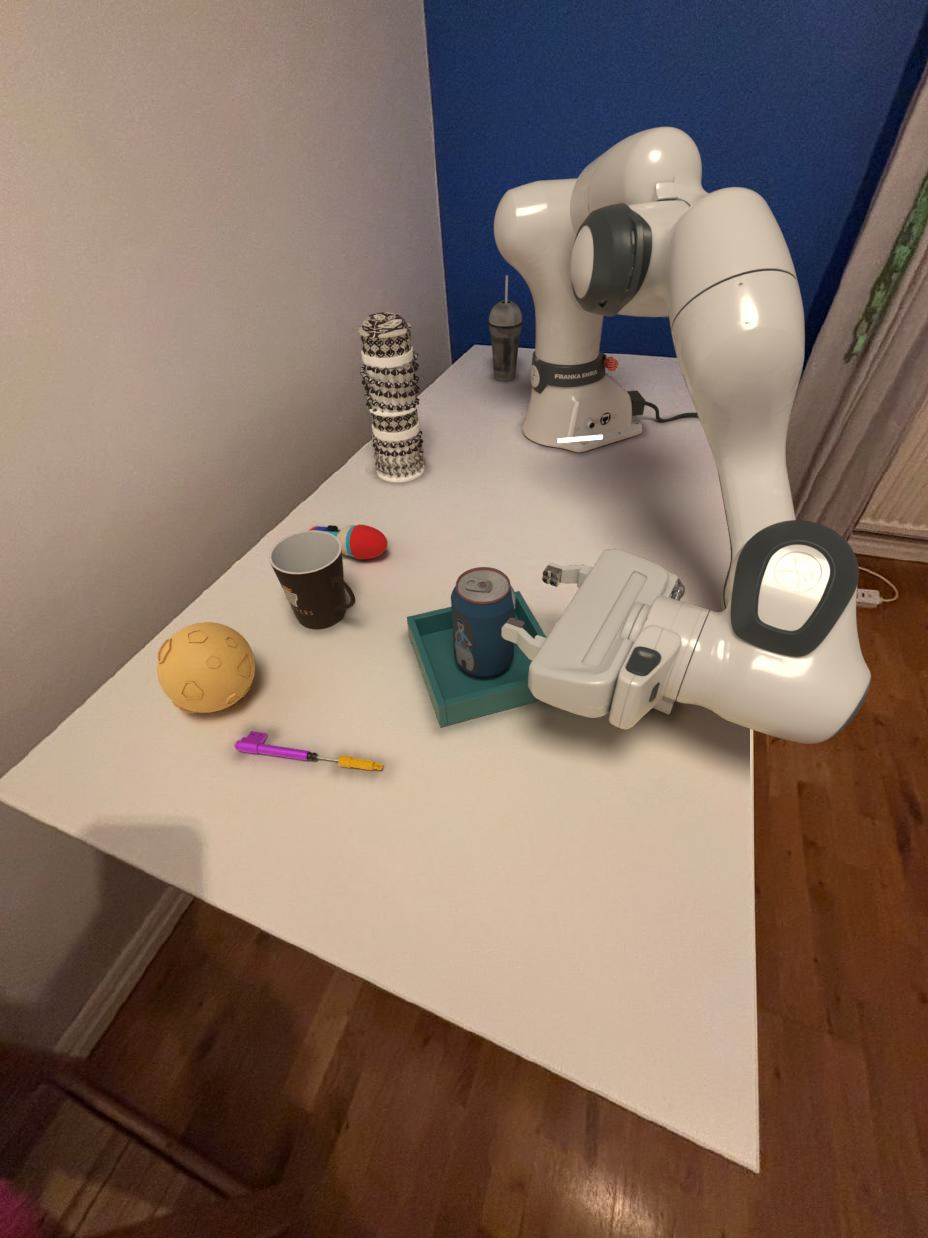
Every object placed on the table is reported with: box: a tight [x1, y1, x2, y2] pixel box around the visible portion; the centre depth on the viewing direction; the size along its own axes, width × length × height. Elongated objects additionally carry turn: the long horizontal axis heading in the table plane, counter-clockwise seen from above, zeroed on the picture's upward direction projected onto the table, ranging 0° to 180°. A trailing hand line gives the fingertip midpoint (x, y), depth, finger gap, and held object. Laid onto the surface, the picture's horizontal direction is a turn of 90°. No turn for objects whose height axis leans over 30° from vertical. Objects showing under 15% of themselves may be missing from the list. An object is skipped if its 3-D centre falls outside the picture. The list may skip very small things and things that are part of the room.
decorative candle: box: [356, 311, 426, 483], centre depth 96 cm, size 9×9×25 cm
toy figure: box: [309, 524, 388, 560], centre depth 87 cm, size 8×5×15 cm
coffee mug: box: [268, 529, 356, 630], centre depth 74 cm, size 12×9×10 cm
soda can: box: [450, 566, 516, 679], centre depth 66 cm, size 7×7×12 cm
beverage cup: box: [487, 274, 524, 382], centre depth 126 cm, size 7×7×20 cm
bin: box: [406, 590, 548, 728], centre depth 70 cm, size 15×15×4 cm
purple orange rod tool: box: [234, 730, 384, 771], centre depth 62 cm, size 3×1×16 cm
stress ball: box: [156, 621, 256, 715], centre depth 65 cm, size 10×10×10 cm
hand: (525, 598), depth 61 cm, fingers open, 8 cm apart
